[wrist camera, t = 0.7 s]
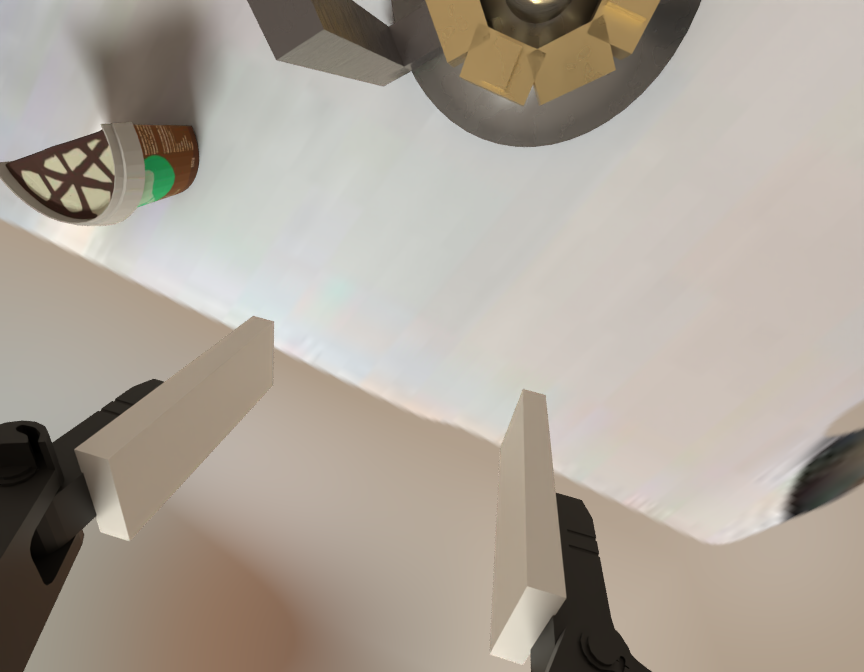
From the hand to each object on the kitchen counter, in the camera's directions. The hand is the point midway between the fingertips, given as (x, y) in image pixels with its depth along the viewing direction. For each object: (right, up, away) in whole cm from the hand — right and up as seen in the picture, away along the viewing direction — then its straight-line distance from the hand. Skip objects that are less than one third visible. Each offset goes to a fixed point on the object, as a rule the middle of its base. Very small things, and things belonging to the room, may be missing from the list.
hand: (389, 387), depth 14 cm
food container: (-24, +17, +25) cm, 39 cm away
